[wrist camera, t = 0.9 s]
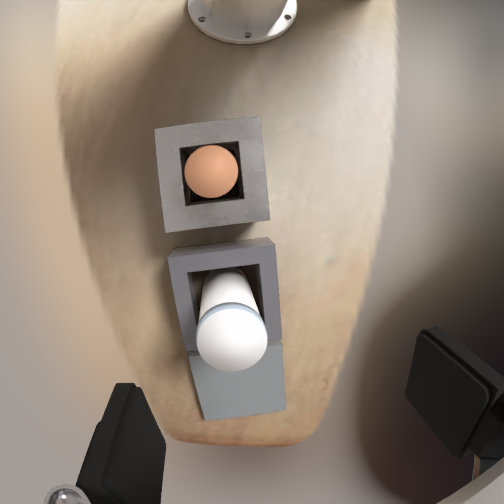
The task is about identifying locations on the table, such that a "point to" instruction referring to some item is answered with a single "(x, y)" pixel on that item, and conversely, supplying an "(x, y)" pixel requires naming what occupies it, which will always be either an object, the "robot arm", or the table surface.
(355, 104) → the table surface
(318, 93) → the table surface
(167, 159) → the frame
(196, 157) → the release button
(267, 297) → the frame
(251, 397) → the slate mat
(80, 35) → the table surface
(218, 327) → the cylinder
